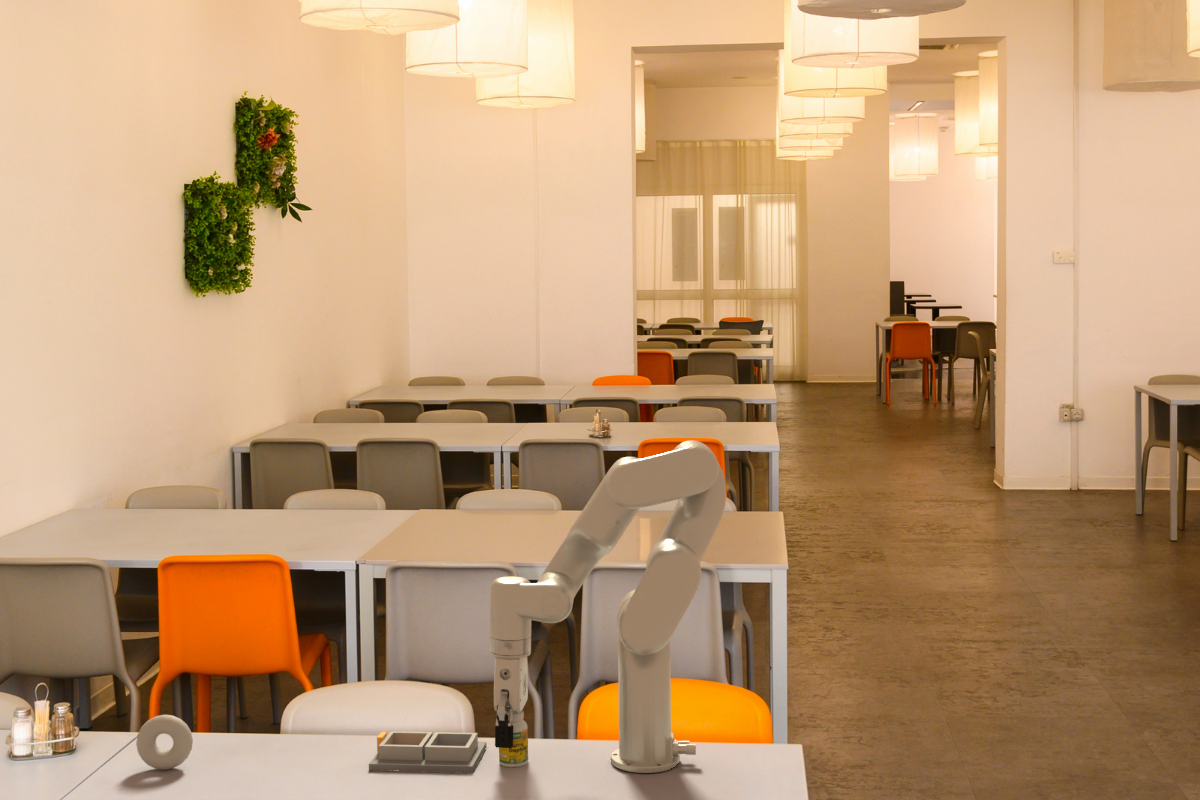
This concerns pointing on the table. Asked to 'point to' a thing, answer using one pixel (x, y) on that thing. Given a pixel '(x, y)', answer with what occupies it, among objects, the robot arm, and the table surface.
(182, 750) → the donut
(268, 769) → the table surface
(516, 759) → the supplement bottle
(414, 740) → the compartment tray
